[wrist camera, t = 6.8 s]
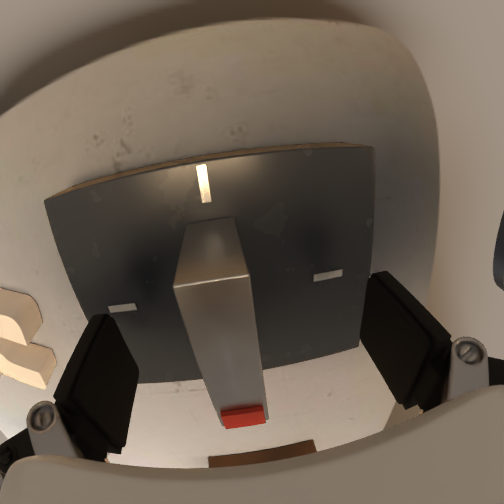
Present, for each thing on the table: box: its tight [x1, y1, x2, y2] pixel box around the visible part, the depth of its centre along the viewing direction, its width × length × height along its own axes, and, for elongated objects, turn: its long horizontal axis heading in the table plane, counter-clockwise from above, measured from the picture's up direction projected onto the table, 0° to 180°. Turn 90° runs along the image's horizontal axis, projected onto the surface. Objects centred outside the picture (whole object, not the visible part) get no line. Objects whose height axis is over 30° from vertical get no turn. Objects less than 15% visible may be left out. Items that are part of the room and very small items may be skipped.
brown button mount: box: [208, 440, 317, 468], centre depth 25 cm, size 12×10×4 cm
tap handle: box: [173, 217, 269, 429], centre depth 9 cm, size 6×2×5 cm, turn 6°
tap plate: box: [44, 142, 375, 384], centre depth 13 cm, size 14×11×3 cm
